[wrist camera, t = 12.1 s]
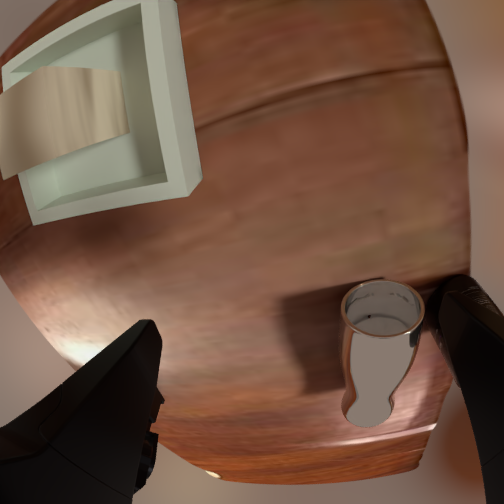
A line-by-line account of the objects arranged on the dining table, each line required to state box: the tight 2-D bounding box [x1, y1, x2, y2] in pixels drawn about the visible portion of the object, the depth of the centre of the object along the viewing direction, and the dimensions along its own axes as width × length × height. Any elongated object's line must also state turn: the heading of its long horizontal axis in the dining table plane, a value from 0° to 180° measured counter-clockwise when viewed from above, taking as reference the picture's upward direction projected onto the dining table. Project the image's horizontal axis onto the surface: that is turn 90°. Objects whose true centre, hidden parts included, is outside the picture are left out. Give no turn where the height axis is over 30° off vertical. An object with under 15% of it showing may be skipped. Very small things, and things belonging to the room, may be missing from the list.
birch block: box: [0, 66, 130, 180], centre depth 13 cm, size 4×4×8 cm
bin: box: [2, 0, 203, 226], centre depth 15 cm, size 13×13×4 cm
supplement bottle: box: [425, 275, 504, 388], centre depth 18 cm, size 7×7×12 cm
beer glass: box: [338, 279, 425, 427], centre depth 23 cm, size 7×7×15 cm
